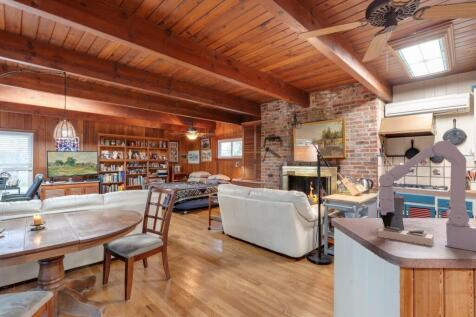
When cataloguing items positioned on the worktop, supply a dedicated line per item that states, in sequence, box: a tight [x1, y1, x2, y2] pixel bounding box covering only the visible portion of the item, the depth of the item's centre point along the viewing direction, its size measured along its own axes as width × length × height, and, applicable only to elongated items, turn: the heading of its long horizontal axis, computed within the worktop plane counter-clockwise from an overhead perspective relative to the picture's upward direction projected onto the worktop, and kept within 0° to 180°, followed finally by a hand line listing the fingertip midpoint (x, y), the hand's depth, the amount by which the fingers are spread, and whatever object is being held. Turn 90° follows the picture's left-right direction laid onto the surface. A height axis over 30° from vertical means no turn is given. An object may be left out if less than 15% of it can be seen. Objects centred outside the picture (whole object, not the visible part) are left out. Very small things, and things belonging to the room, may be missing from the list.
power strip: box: [377, 227, 435, 247], centre depth 109 cm, size 20×7×3 cm, turn 46°
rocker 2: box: [408, 229, 425, 233], centre depth 106 cm, size 5×3×1 cm, turn 46°
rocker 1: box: [386, 226, 400, 231], centre depth 112 cm, size 5×3×1 cm, turn 46°
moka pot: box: [391, 190, 406, 231], centre depth 128 cm, size 10×15×20 cm, turn 12°
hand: (387, 227), depth 113 cm, fingers closed, pressing on rocker 1
